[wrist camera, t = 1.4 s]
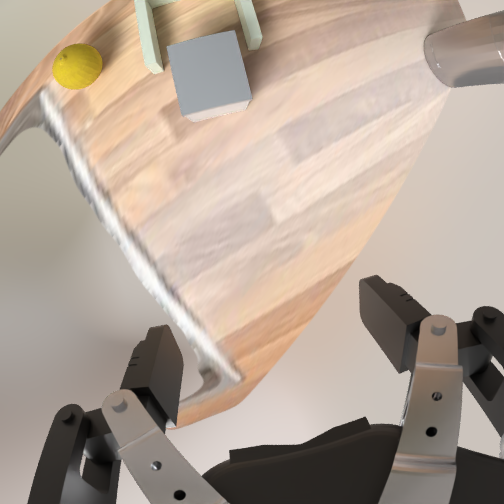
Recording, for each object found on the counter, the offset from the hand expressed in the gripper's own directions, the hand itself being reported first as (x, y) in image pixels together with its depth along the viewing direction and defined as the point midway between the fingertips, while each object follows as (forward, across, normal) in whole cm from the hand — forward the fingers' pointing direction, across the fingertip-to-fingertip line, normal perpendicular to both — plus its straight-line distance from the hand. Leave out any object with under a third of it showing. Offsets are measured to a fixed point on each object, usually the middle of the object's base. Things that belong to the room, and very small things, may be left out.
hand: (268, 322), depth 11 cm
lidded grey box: (+24, 0, -14) cm, 28 cm away
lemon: (+24, +14, -22) cm, 35 cm away
